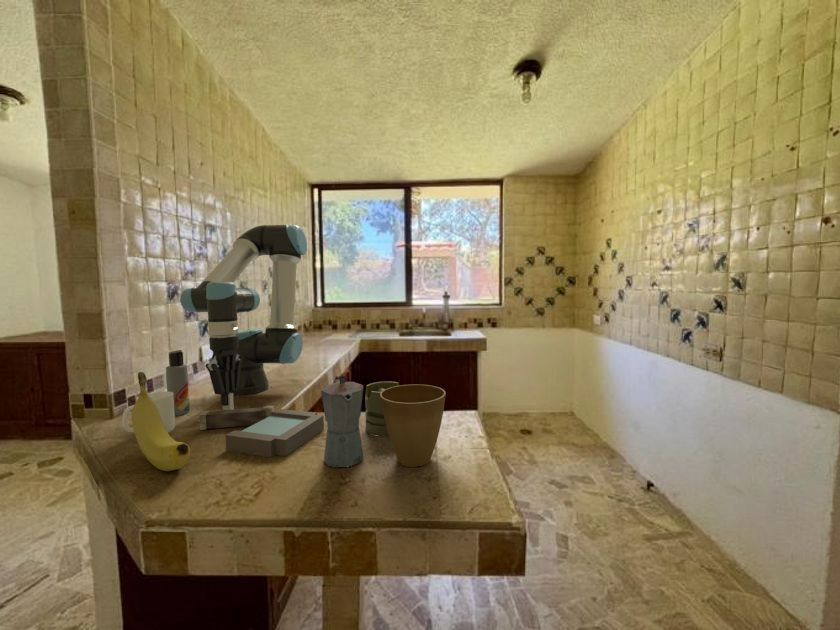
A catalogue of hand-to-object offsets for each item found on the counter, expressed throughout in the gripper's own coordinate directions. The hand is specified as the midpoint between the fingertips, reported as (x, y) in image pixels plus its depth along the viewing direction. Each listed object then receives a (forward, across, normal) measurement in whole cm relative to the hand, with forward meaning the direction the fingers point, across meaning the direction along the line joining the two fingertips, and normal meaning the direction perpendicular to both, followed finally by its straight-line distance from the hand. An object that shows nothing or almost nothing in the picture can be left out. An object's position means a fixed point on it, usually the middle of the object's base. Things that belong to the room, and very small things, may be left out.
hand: (228, 415), depth 108 cm
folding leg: (+2, -1, -4) cm, 5 cm away
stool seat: (+2, -7, -21) cm, 22 cm away
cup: (+3, -11, +16) cm, 19 cm away
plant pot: (+3, -13, -58) cm, 60 cm away
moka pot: (+3, -15, -42) cm, 45 cm away
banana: (+2, -25, -3) cm, 25 cm away
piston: (+3, +4, -47) cm, 47 cm away
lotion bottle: (+3, +5, +22) cm, 22 cm away
